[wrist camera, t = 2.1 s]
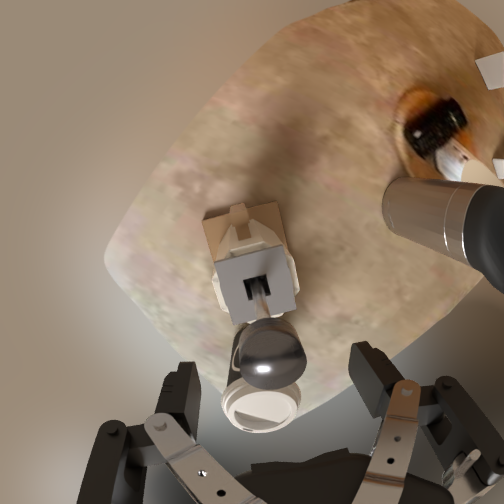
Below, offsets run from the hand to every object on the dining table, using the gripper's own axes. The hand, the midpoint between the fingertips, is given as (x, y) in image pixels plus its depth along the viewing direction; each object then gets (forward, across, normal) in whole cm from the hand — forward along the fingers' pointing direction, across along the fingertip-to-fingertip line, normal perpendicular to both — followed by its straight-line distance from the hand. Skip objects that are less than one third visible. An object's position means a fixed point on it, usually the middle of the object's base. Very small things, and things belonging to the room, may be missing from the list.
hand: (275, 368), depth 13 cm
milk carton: (+25, -55, -35) cm, 70 cm away
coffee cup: (+26, 0, +16) cm, 30 cm away
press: (+25, 0, 0) cm, 25 cm away
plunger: (+14, 0, 0) cm, 14 cm away
